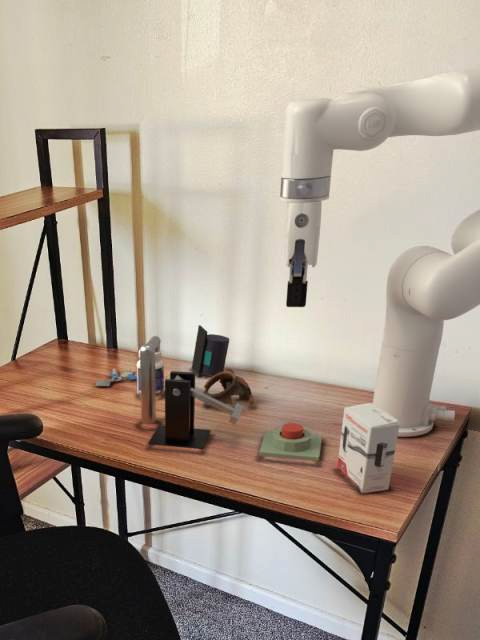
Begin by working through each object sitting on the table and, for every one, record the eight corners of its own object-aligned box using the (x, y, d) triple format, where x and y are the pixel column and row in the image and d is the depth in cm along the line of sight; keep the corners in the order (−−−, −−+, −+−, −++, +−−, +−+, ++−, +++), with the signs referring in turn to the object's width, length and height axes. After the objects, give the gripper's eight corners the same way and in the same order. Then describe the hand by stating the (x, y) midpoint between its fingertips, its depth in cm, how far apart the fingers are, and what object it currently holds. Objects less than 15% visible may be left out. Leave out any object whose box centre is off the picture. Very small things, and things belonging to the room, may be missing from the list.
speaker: (189, 377, 159) (195, 331, 154) (191, 369, 164) (196, 324, 159) (223, 380, 158) (230, 334, 153) (224, 373, 163) (230, 328, 158)
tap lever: (238, 414, 128) (244, 403, 127) (233, 427, 123) (239, 416, 122) (174, 382, 129) (179, 371, 128) (166, 394, 124) (172, 383, 123)
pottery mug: (259, 416, 140) (243, 387, 135) (215, 434, 144) (198, 406, 139) (253, 380, 149) (238, 351, 144) (212, 398, 152) (195, 370, 148)
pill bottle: (168, 397, 150) (168, 352, 145) (144, 402, 148) (143, 357, 143) (156, 389, 155) (156, 344, 150) (132, 393, 153) (131, 349, 148)
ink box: (334, 470, 119) (343, 405, 113) (362, 466, 120) (372, 401, 113) (360, 494, 112) (371, 426, 106) (389, 490, 112) (402, 422, 106)
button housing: (321, 443, 128) (323, 425, 126) (318, 466, 121) (320, 447, 119) (264, 438, 131) (266, 421, 129) (258, 460, 123) (259, 442, 122)
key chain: (99, 389, 156) (99, 386, 156) (82, 379, 162) (82, 375, 162) (153, 376, 161) (153, 373, 161) (135, 366, 167) (135, 363, 167)
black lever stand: (210, 435, 133) (212, 370, 127) (202, 454, 127) (204, 386, 120) (158, 431, 136) (158, 367, 130) (148, 449, 130) (147, 382, 123)
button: (303, 432, 125) (304, 423, 124) (301, 441, 122) (302, 432, 121) (282, 431, 126) (283, 422, 125) (280, 439, 123) (281, 430, 122)
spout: (167, 412, 144) (167, 333, 135) (156, 431, 136) (156, 348, 128) (146, 410, 145) (145, 332, 136) (134, 429, 137) (132, 347, 129)
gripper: (329, 195, 104) (317, 318, 114) (330, 181, 117) (319, 294, 126) (277, 197, 106) (270, 318, 116) (283, 183, 119) (276, 294, 128)
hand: (295, 305), depth 121 cm, fingers closed
